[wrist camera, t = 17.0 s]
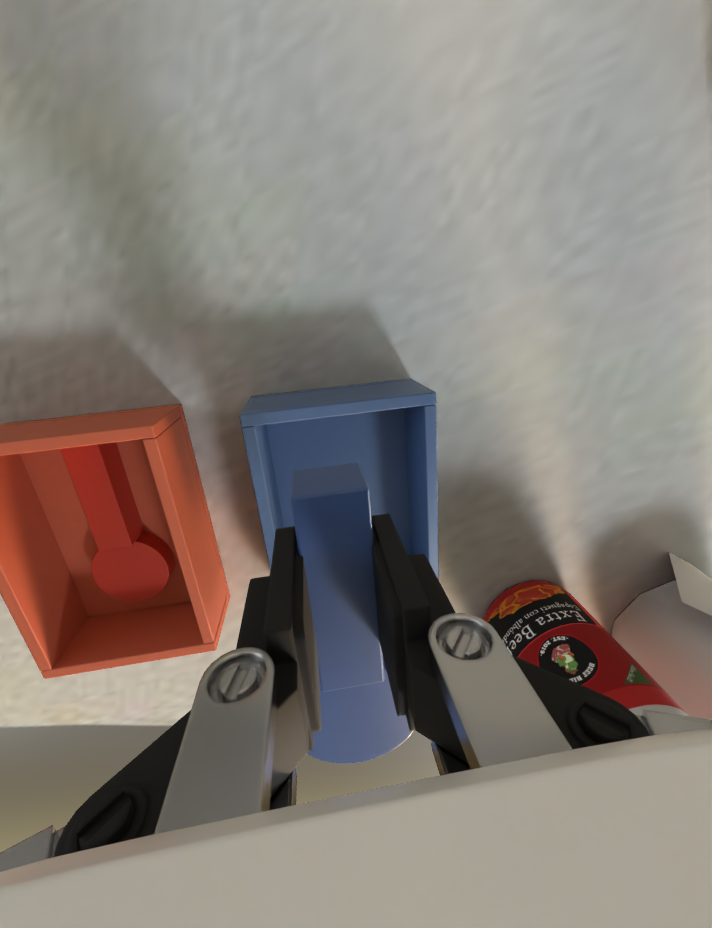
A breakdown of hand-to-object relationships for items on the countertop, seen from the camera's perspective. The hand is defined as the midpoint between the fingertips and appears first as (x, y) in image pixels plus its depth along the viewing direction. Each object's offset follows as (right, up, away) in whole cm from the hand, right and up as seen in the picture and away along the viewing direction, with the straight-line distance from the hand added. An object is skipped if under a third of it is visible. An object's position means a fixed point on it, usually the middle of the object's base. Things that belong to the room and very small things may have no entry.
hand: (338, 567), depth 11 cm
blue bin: (0, +1, +14) cm, 14 cm away
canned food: (+14, -9, +20) cm, 25 cm away
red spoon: (-13, -1, +12) cm, 18 cm away
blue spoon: (0, -2, +1) cm, 3 cm away
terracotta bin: (-13, 0, +12) cm, 18 cm away
